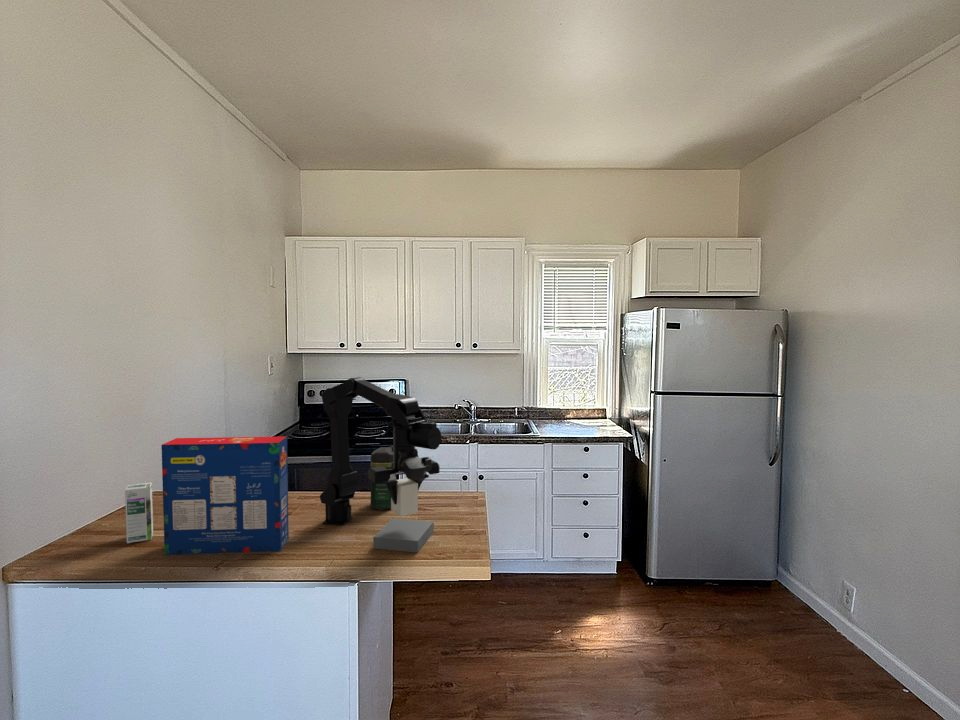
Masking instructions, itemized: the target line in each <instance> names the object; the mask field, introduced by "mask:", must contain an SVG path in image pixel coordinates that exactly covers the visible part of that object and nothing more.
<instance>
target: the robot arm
mask: <svg viewBox="0 0 960 720" xmlns="http://www.w3.org/2000/svg"><path fill="white" fill-rule="evenodd" d="M321 394H322V395H321V396H322V397H321V400H322V406H323V411H324V412H325V413H326V415H327V416H328V418H329V425H330V426H329V427H330V428H329V431H330V444H331V445H330V447H331V450H330V451H331V463H332V464H331V465H332V466H331V469H330V472H329V474H328V476H327V481H326V482H327V483H326V488H325V489H324V491H322V493H321V494H320V495H319V500H320V503H321V504H324V505H325V510H324V511H325V520H324V521H322V525H335V526H344V525H345V524H347V522H349V521H351V520H352V519H353V516H352V505H351V502H350V501H351V499H354V497H355V494H356V491H357V490H358V486H359V485H360V484H359V473H358V471H356V470H355V471H354V469H353V468H352V466H351V464H350V463H351V461H350V459H351V458H350V445H349V444H350V441H349V439H350V437H349V423H348V419H349V418H348V416H349V415H350V413H351V410H352V407H353V400H354V399H356V398H357V397H361V398H363V399H365V400H367V401H368V402H371V403H372V404H375V405H377V406H378V407H381V408H382V409H383V410H384V412H385V414H386V415H387V416H389V417H390V418H391V421H389V422H388V423H387V425H386V426H387V427H388V428H393V447H392V446H391V448H392V451H393V452H394V462H392V467H394V468H393V469H386V468H385V467H383V466H379V467H372V468H371V467H369V468H368V471H367V479H368V480H370V482H371V481H373V482H375V483H382V482H384V483H385V485H386V486H387V488H388V491H389V493H390V495H391V498H392V500H393V503H394V504H397V489H396V485H397V483H398V481H397V480H398V479H396V480H395V475H396V476H400V475H401V476H402V475H405V477H406V478H408V479H411V480H413V481H414V482H416V483H418V491H419V490H420V487H421V486H422V483H423V481H424V480H426V479H427V478H429V477H430V476H429V475H435V474H440V464H439V463H438V462H437V461H435V460H432V458H431V457H430V456H424V457H420V456H419V452H418V448H419V449H420V448H421V449H428V450H436V449H438V448H439V446H440V445H441V443H442V432H441V431H440V428H438V426H437V422H433V421H432V422H428V420H427V418H426V416H425V415H424V412H423V411H422V409H421V407H420V406H419V403H418V400H417V398H415V397H413V396H409V395H405V394H398V393H393V392H391V391H389V390H386V389H385V388H382V387H380V386H379V385H377V384H374V383H372V382H370V381H368V380H366V379H365V378H363V377H360V376H359V377H350V378H349V379H346V380H345V381H344V382H341V383H339V384H337V385H335V386H332V387H328V388H326V389H325V390H324V391H323V392H322V393H321ZM416 447H417V448H416Z"/></svg>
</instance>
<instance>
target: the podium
mask: <svg viewBox="0 0 960 720" xmlns="http://www.w3.org/2000/svg"><path fill="white" fill-rule="evenodd" d="M434 525H435V523H434V521H432V520H421V519H418V520H417V519H408V518H407V519H406V518H392V519H390V520H389V521H388V522H387V524H386V525H384V526H383V527H382V528H381V529H380V530H379V531H378V532H377V533H376V534H375V535H374V536H373V549H374V548H375V550H377V549H378V550H385V549H387V551H398V552H408V553H416V554H417V553H420V550H421V549H422V548H423V547H424V546H425V544H426V543H427V541H428V540H429V539H430V537H431V536H432V535H433V534H434V533H435V531H434Z"/></svg>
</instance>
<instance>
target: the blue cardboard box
mask: <svg viewBox="0 0 960 720" xmlns="http://www.w3.org/2000/svg"><path fill="white" fill-rule="evenodd" d="M160 448H161V469H162V470H161V474H162V475H161V478H162V512H163V539H164V540H163V545H164V556H181V555H182V556H183V555H184V556H185V555H186V556H187V555H209V554H211V555H213V554H235V553H262V552H266V553H267V552H281V551H282V550H283V548H284V547H285V545H286V544H287V542H288V540H289V539H290V537H289V536H290V535H289V534H290V533H289V532H290V531H289V530H290V529H289V527H290V526H289V477H288V476H289V472H288V467H289V466H288V436H287V435H285V436H237V437H236V436H230V437H229V436H228V437H227V436H223V437H221V436H220V437H176V438H173V439H172V440H169V441H166V442H165V443H162V444H161V447H160Z"/></svg>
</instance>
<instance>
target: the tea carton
mask: <svg viewBox="0 0 960 720" xmlns="http://www.w3.org/2000/svg"><path fill="white" fill-rule="evenodd" d="M396 480H397V481H398V483H397V485H396V489H397V504H394V503H393V500H392V498H391V508H390V510H391V511H392V512H394V513H395V514H396V515H398V516H399V517H405V516H408V515H409V516H410V515H414V514H415V515H416V514H418V513H419V490H418V483H416V482H414V481H413V480H411V479H408V478H407V477H406V478H400V479H396Z"/></svg>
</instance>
